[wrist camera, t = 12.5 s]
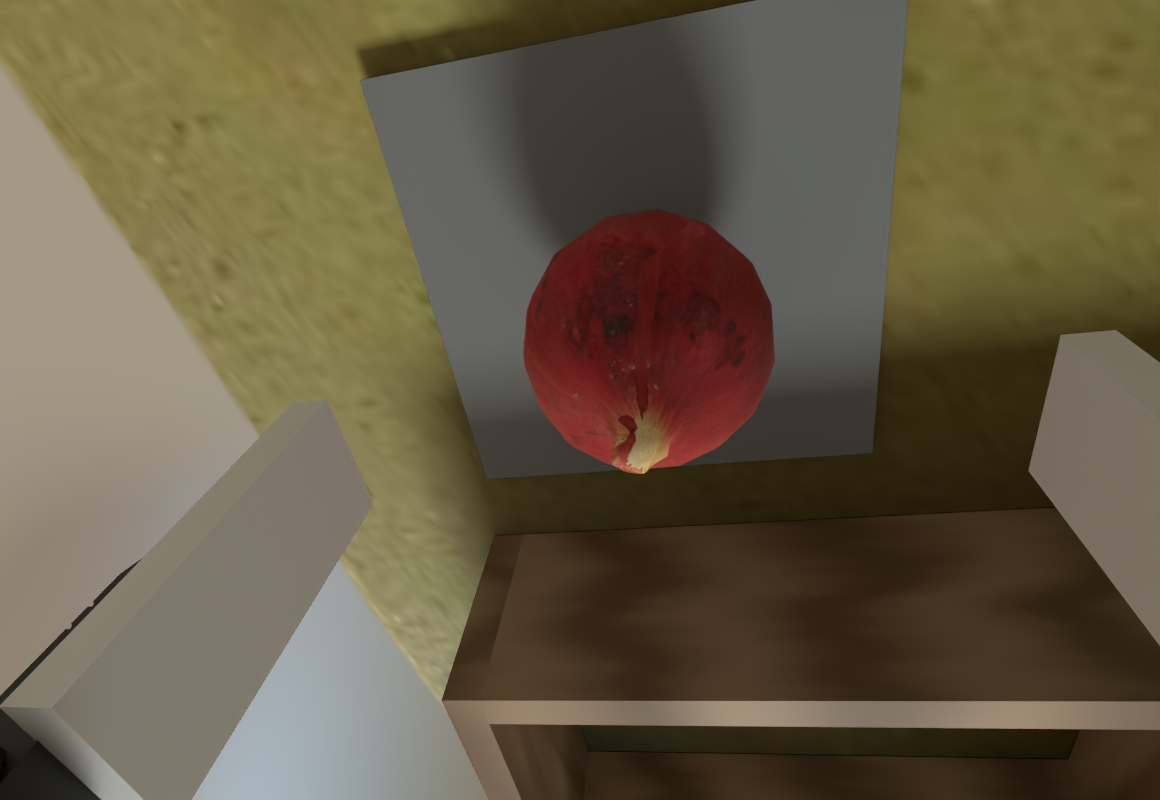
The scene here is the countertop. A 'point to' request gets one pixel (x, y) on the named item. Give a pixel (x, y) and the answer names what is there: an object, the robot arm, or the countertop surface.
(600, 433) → the onion
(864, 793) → the box
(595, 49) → the mat
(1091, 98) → the countertop surface
